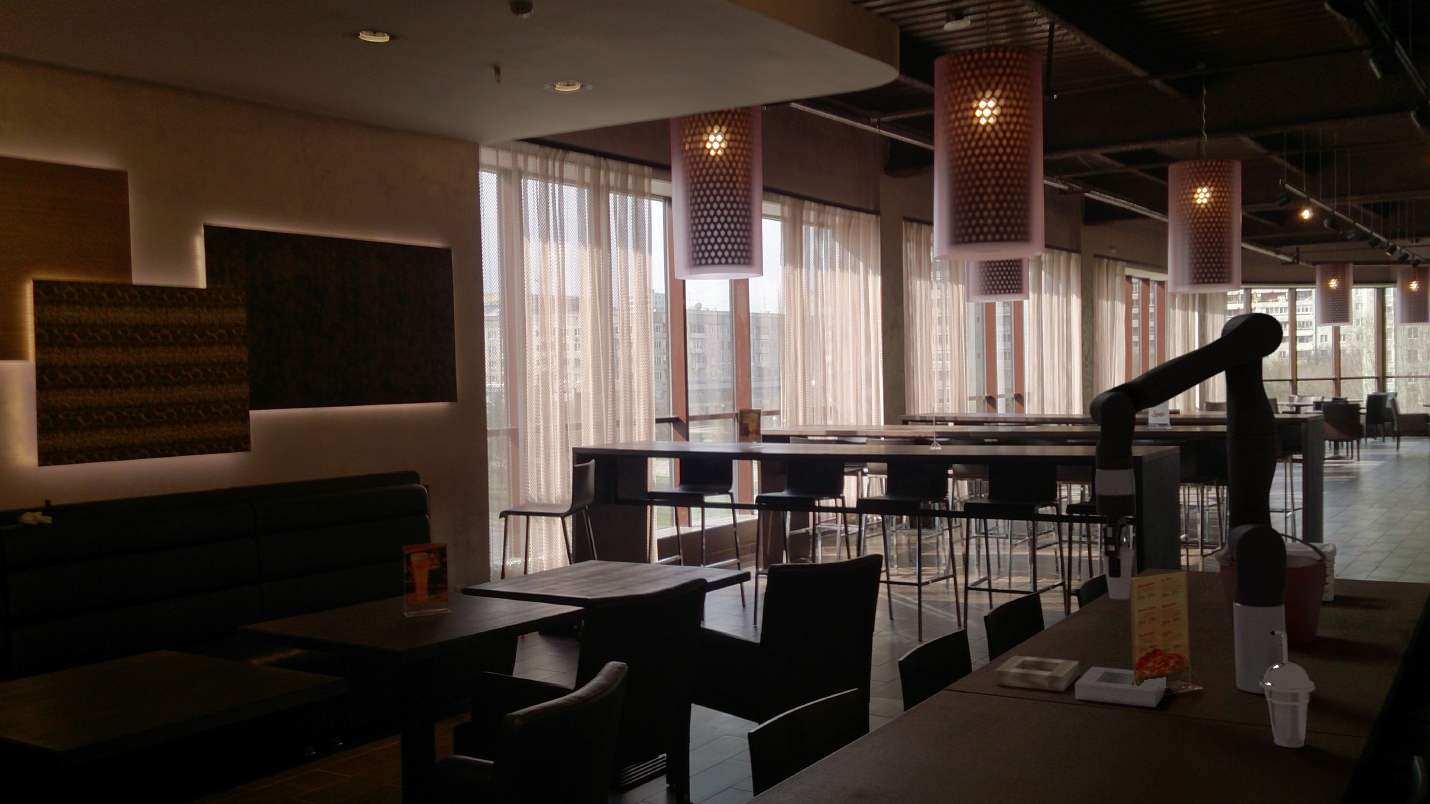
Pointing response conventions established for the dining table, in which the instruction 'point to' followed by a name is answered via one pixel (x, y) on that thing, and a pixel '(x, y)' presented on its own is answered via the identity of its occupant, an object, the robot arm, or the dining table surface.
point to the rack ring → (1118, 687)
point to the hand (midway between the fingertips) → (1118, 574)
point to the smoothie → (1121, 585)
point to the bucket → (1288, 591)
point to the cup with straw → (1287, 699)
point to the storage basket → (1327, 549)
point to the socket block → (1037, 673)
